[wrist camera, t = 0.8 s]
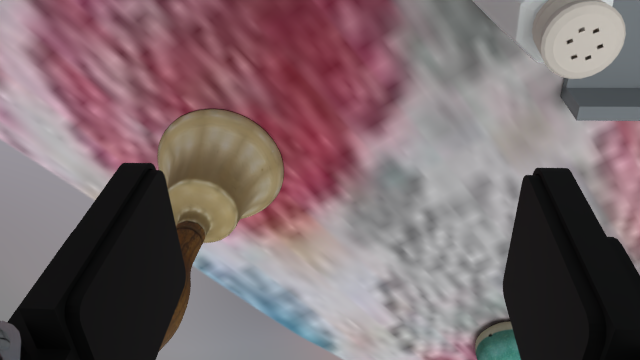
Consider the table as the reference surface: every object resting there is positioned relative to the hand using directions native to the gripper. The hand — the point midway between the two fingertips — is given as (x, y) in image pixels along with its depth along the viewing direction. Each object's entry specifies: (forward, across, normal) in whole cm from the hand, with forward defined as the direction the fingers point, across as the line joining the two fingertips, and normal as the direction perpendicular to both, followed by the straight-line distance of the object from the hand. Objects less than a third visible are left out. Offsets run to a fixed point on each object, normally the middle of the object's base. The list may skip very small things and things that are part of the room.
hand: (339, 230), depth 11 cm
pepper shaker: (+22, -8, 0) cm, 23 cm away
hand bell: (+22, +9, +12) cm, 27 cm away
